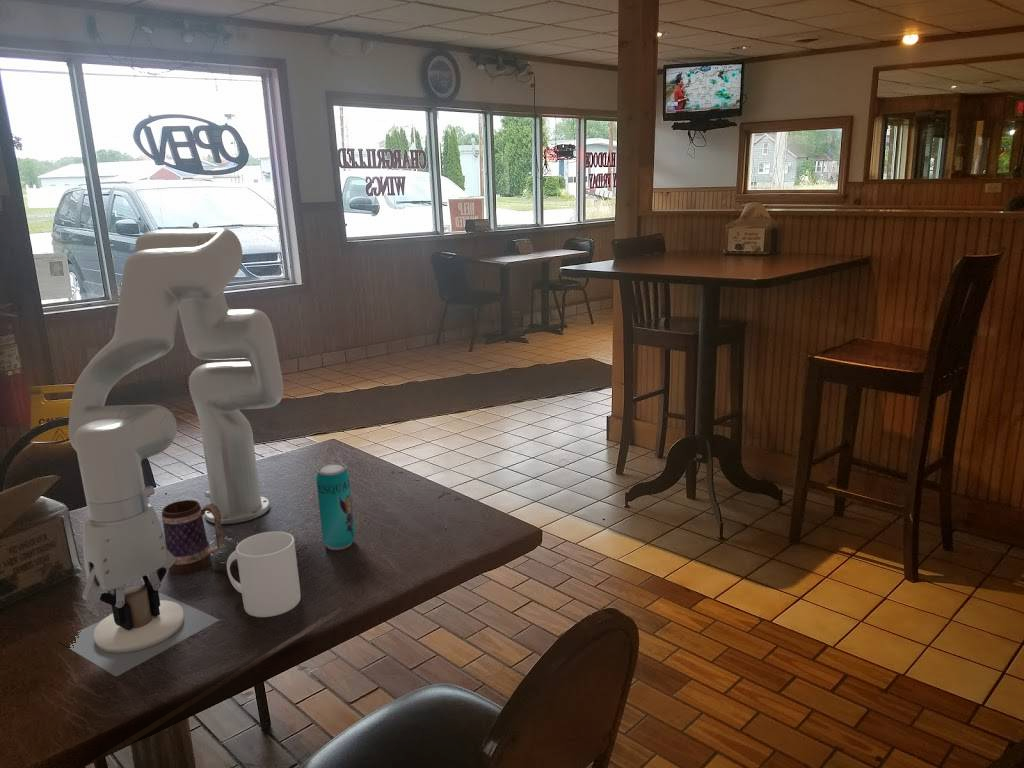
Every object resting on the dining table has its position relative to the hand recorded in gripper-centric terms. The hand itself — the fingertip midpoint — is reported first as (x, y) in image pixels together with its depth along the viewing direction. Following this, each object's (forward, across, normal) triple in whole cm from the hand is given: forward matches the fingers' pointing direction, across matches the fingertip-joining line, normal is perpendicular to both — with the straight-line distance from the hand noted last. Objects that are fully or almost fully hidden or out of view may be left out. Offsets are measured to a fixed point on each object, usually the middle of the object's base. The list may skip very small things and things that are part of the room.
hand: (138, 619), depth 110 cm
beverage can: (+3, -36, +4) cm, 36 cm away
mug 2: (+3, -15, +9) cm, 18 cm away
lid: (+2, 0, 0) cm, 2 cm away
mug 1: (+3, -17, -11) cm, 20 cm away
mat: (+2, 0, 0) cm, 2 cm away
